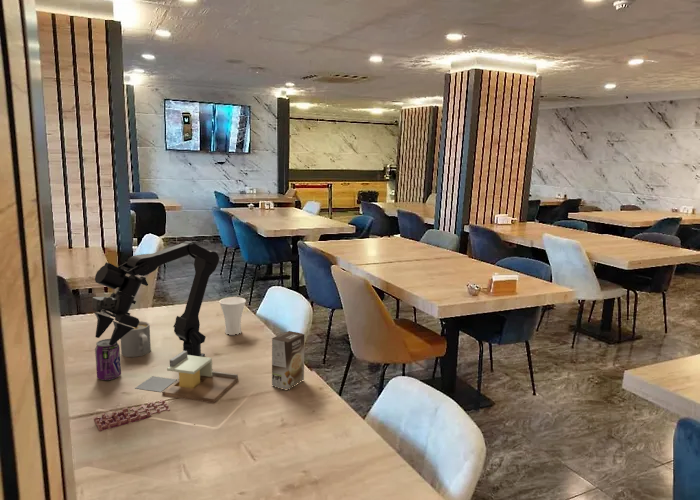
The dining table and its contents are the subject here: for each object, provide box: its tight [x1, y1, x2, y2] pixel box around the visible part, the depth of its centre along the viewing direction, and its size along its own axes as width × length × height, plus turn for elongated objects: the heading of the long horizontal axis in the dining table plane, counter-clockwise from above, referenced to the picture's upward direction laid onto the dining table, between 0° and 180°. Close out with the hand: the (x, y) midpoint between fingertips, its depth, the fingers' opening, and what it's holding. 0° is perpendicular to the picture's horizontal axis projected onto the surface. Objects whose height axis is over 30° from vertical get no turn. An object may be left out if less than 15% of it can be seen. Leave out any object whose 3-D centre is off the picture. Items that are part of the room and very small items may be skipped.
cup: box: [218, 296, 247, 336], centre depth 210 cm, size 10×10×14 cm
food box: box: [271, 330, 305, 390], centre depth 165 cm, size 9×6×16 cm
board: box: [161, 370, 239, 403], centre depth 161 cm, size 16×17×2 cm
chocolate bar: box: [93, 399, 171, 432], centre depth 144 cm, size 7×19×2 cm, turn 126°
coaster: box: [134, 375, 178, 393], centre depth 163 cm, size 9×9×1 cm
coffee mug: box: [120, 320, 152, 358], centre depth 187 cm, size 13×10×10 cm
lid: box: [166, 350, 213, 377], centre depth 162 cm, size 11×9×8 cm
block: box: [178, 370, 200, 389], centre depth 162 cm, size 4×4×6 cm
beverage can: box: [94, 338, 122, 381], centre depth 167 cm, size 7×7×12 cm
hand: (103, 341), depth 159 cm, fingers open, 9 cm apart
